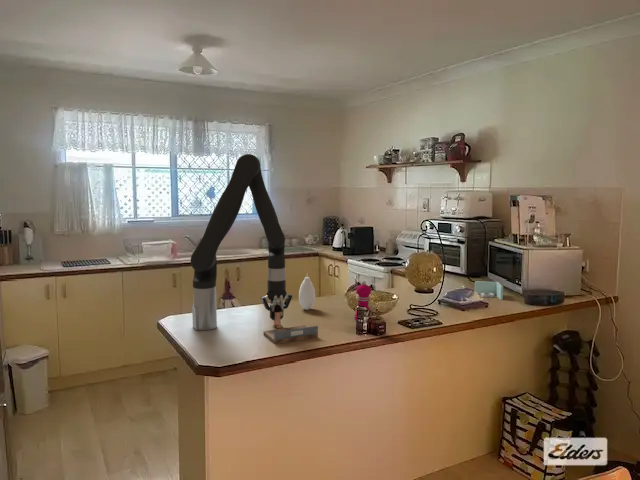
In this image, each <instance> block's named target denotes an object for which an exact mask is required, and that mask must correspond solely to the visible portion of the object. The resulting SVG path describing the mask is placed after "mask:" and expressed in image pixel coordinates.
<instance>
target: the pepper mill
mask: <svg viewBox="0 0 640 480" xmlns="http://www.w3.org/2000/svg"><path fill="white" fill-rule="evenodd" d="M355 292H356V294H357V300H358V306H359V305H360V306H364V307H366V308H367V309H368V310H369V311H370V307H369V301H370V299H371V298H370V295H371V293H372V289H371V286H369V284H367V281H365V280H362V281H361V284H359V285H358V286H357V287H356V291H355ZM370 312H371V311H370ZM356 320H357V310H356V311H355V314H354V321H355V322H356Z"/></svg>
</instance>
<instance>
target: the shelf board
mask: <svg viewBox="0 0 640 480" xmlns="http://www.w3.org/2000/svg"><path fill="white" fill-rule="evenodd" d="M305 327H308V326H306V325H305V324H304V325H299V326H291V327H284V328H283V327H282V328H277V329H276V328H275V329H271V330H270V329H268V330H263V333H262V334H263V336H264V337H265V338H266V339H268V340H269V341H271V343H272V344H273V345H279V344H283V343H290V342H297V341H303V340H309V339H315V338H318V337H319V333H318V334H312V335H305V336H299V337H292V338H286V339H279V340H274V332H277V331H284V330H291V329H298V328H305Z"/></svg>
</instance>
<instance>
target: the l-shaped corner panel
mask: <svg viewBox="0 0 640 480" xmlns="http://www.w3.org/2000/svg"><path fill="white" fill-rule="evenodd" d="M475 291H476V292H477V293H478V294H477V295H480V297H481V298H486V299H487V298H488V299H491V298H494V297H495V296H497V298H498V299H499V300H501V301H503V299H504V298H503V297H504V285H502V284H501V283H500V282H499V281H484V280H482V281H478V280H475V281H474V292H475Z"/></svg>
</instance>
